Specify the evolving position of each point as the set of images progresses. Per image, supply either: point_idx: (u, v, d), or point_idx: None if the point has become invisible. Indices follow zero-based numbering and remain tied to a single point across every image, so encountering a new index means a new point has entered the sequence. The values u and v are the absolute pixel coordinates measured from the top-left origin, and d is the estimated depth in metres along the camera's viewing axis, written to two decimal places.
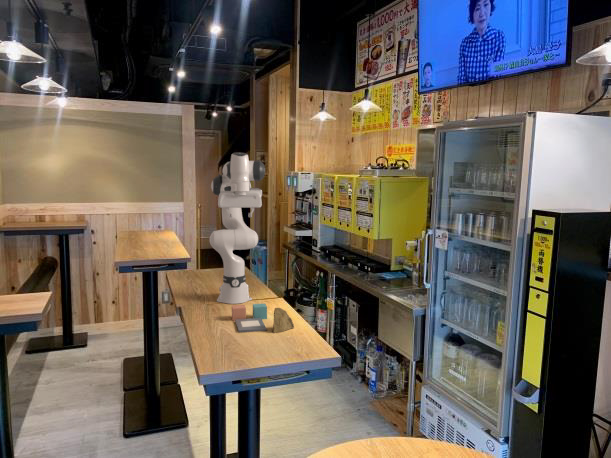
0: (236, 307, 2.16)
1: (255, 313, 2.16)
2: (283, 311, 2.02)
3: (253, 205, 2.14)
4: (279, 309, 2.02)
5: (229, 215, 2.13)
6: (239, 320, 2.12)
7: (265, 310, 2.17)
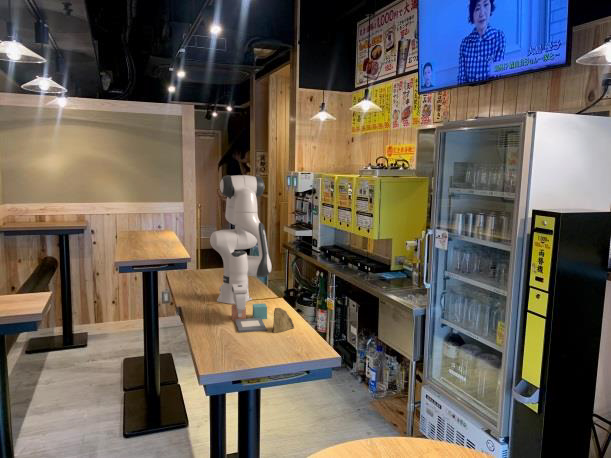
0: None
1: (255, 313, 2.16)
2: (283, 311, 2.02)
3: None
4: (279, 309, 2.02)
5: (241, 314, 2.14)
6: (239, 320, 2.12)
7: (265, 310, 2.17)
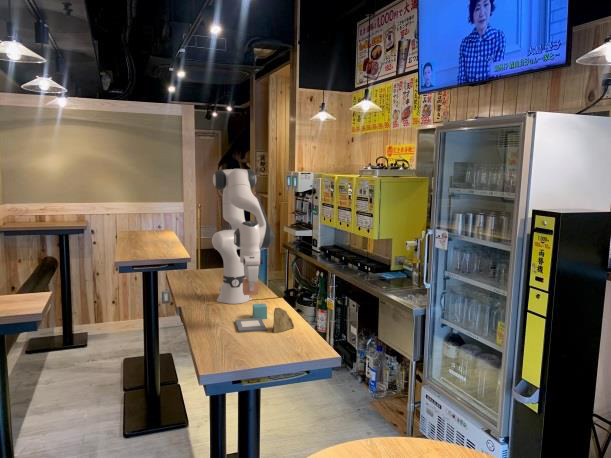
0: (247, 280, 2.03)
1: (255, 313, 2.16)
2: (283, 311, 2.02)
3: None
4: (279, 309, 2.02)
5: None
6: (239, 320, 2.12)
7: (265, 310, 2.17)
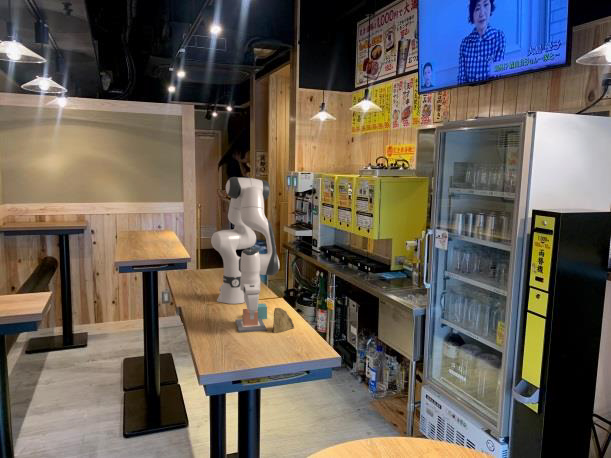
0: (247, 311, 2.05)
1: None
2: (283, 311, 2.02)
3: None
4: (279, 309, 2.02)
5: (253, 316, 2.02)
6: (239, 320, 2.12)
7: (265, 310, 2.17)
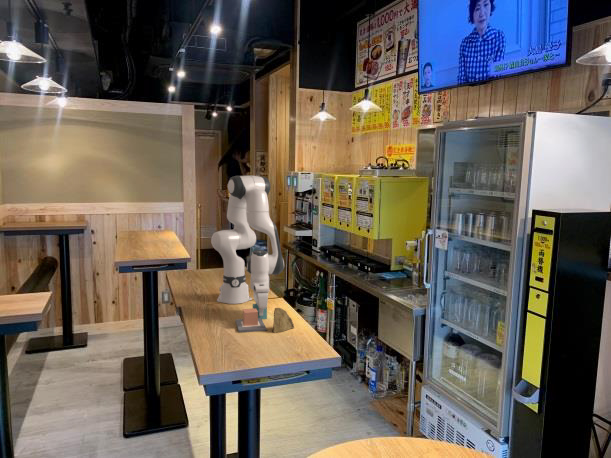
0: (247, 311, 2.05)
1: None
2: (283, 311, 2.02)
3: None
4: (279, 309, 2.02)
5: None
6: (239, 320, 2.12)
7: (265, 310, 2.17)
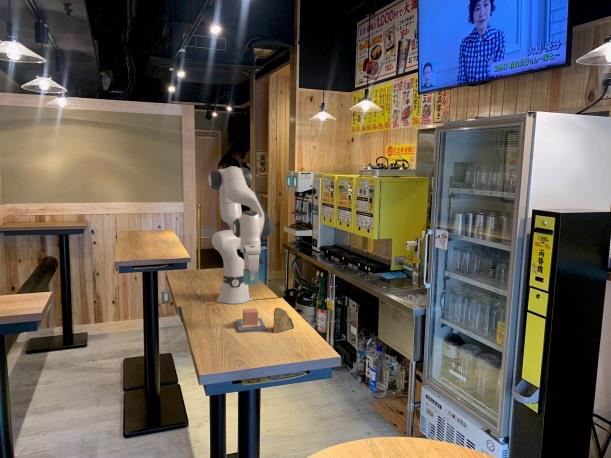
0: (247, 311, 2.05)
1: (246, 277, 2.01)
2: (283, 311, 2.02)
3: None
4: (279, 309, 2.02)
5: None
6: (239, 320, 2.12)
7: (256, 274, 2.02)
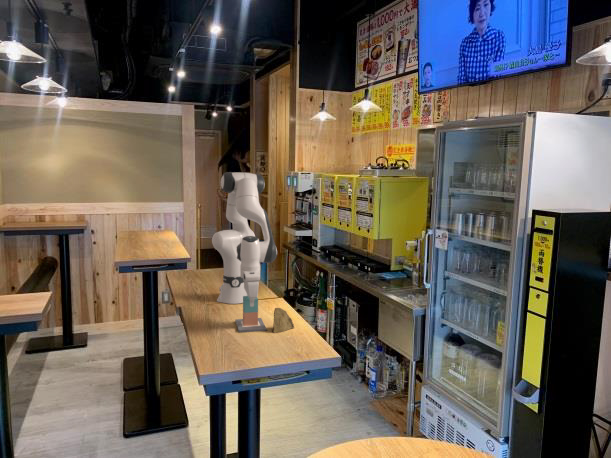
0: None
1: (245, 305, 2.03)
2: (283, 311, 2.02)
3: None
4: (279, 309, 2.02)
5: (253, 304, 2.01)
6: (239, 320, 2.12)
7: (256, 302, 2.04)
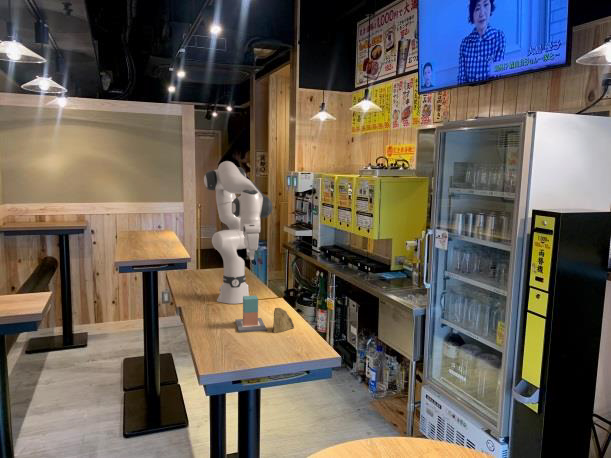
0: None
1: (245, 305, 2.03)
2: (283, 311, 2.02)
3: None
4: (279, 309, 2.02)
5: (253, 257, 1.99)
6: (239, 320, 2.12)
7: (256, 302, 2.04)
